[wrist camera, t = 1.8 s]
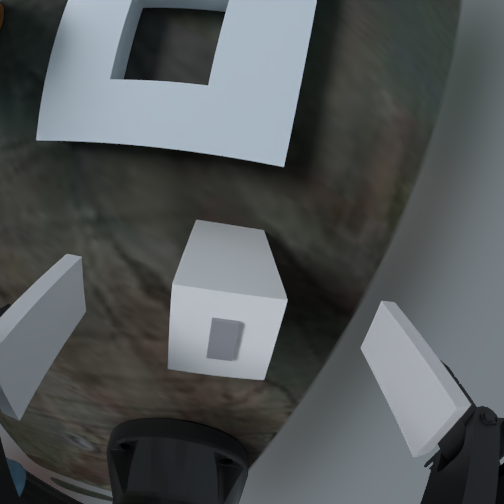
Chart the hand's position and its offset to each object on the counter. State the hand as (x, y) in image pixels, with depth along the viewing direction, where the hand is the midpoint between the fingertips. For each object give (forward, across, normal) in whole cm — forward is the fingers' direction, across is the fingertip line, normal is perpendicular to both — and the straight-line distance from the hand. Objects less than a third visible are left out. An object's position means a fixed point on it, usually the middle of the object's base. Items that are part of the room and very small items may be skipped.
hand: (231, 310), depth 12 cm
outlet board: (+7, +5, -17) cm, 19 cm away
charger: (+7, 0, 0) cm, 7 cm away
